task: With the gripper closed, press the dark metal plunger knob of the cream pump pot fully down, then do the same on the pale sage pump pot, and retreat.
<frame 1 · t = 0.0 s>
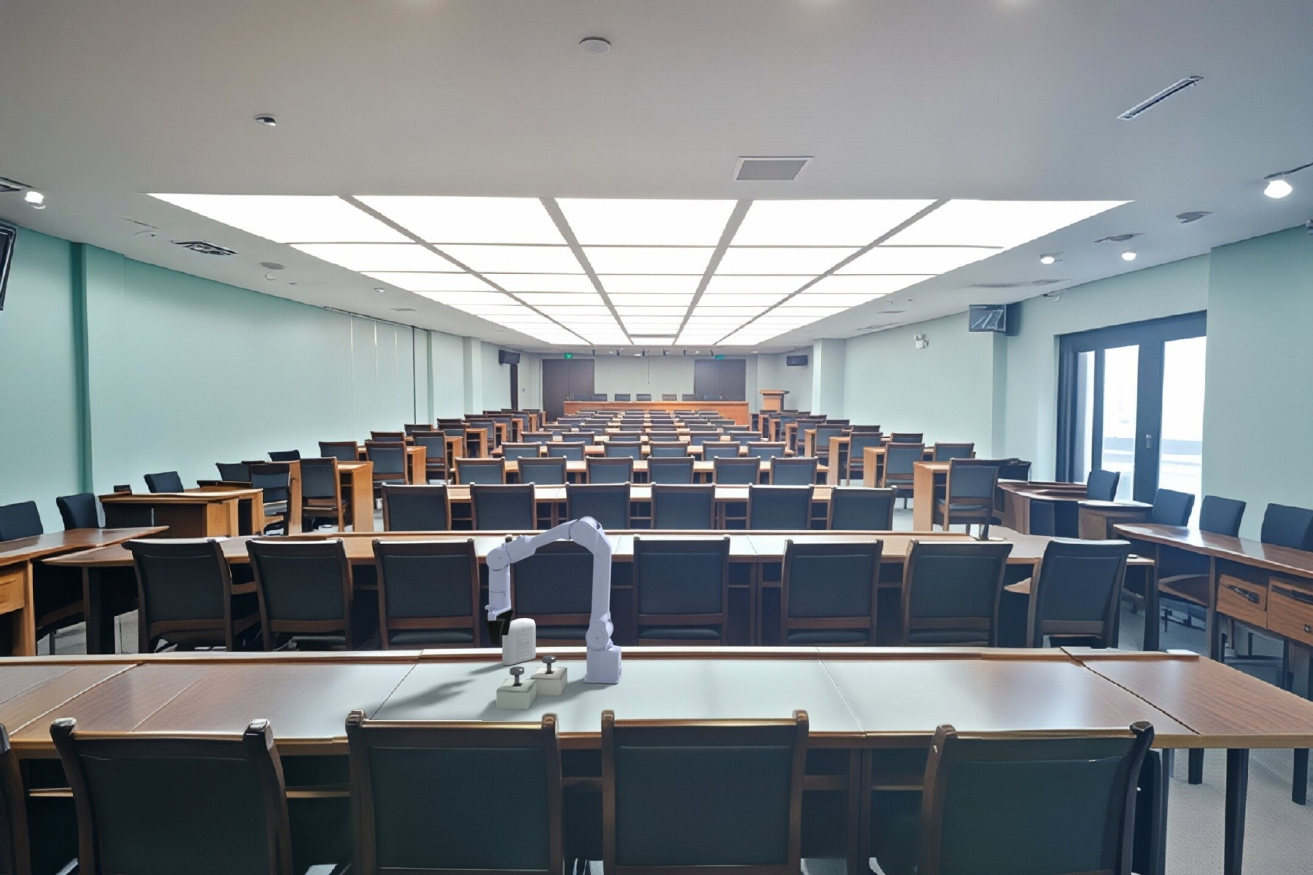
hand: (499, 639, 190), 10 cm above the table, tool pointing down, fingers open, 7 cm apart
photo printer: (519, 661, 202), on the table
plunger b: (516, 679, 172), point 6 cm above the table, slide at 0.0 cm
pot a: (549, 689, 180), on the table
pot b: (517, 702, 172), on the table
plunger a: (549, 667, 180), point 6 cm above the table, slide at 0.0 cm
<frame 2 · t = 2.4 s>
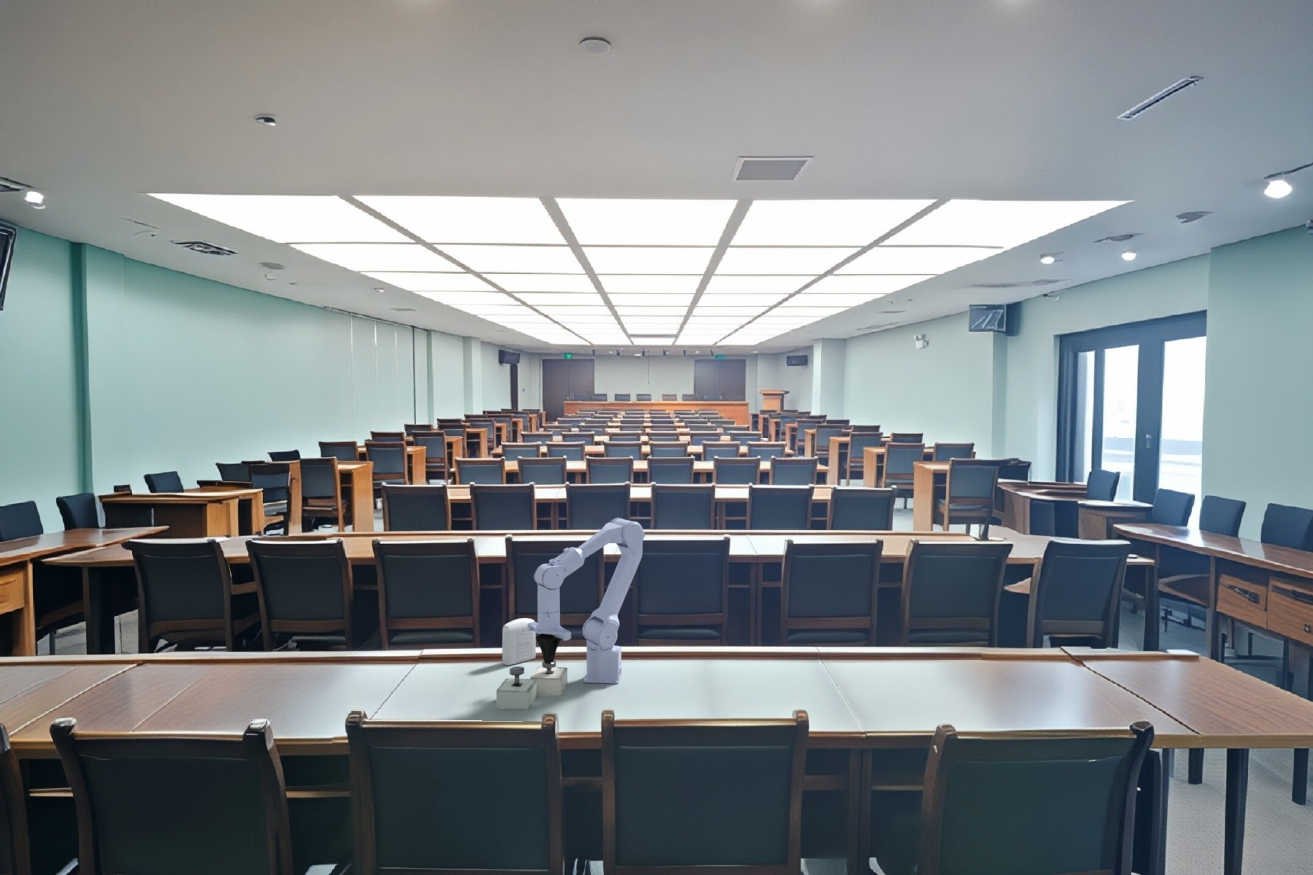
hand: (548, 662, 180), 7 cm above the table, tool pointing down, fingers closed
plunger a: (549, 671, 180), point 5 cm above the table, slide at 1.3 cm
everything else where it was.
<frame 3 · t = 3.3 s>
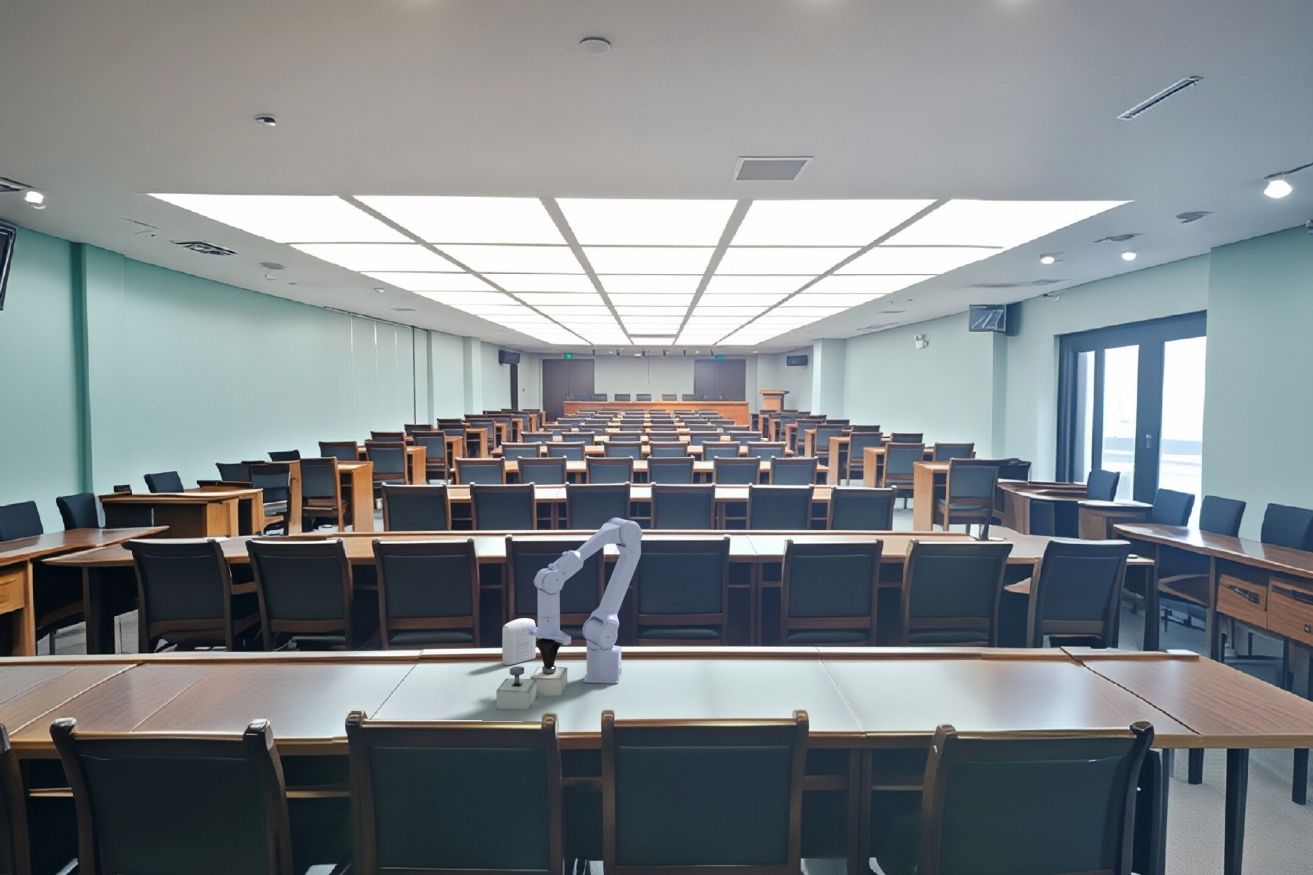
hand: (549, 666, 180), 6 cm above the table, tool pointing down, fingers closed
plunger a: (549, 676, 180), point 3 cm above the table, slide at 2.6 cm
everything else where it was.
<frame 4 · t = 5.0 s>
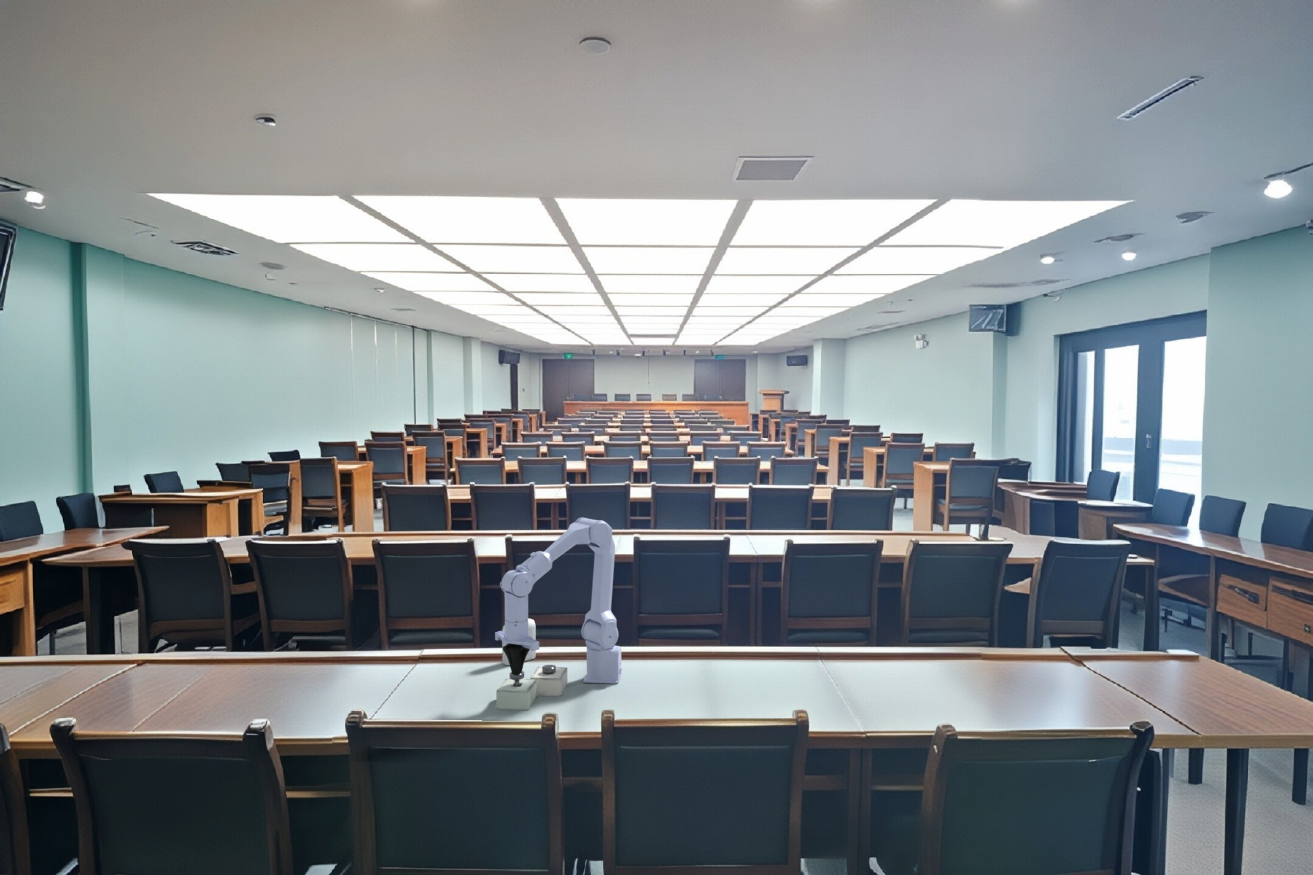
hand: (516, 673, 172), 7 cm above the table, tool pointing down, fingers closed, pressing on plunger b
plunger b: (517, 683, 172), point 5 cm above the table, slide at 1.1 cm, touching gripper
everything else where it was.
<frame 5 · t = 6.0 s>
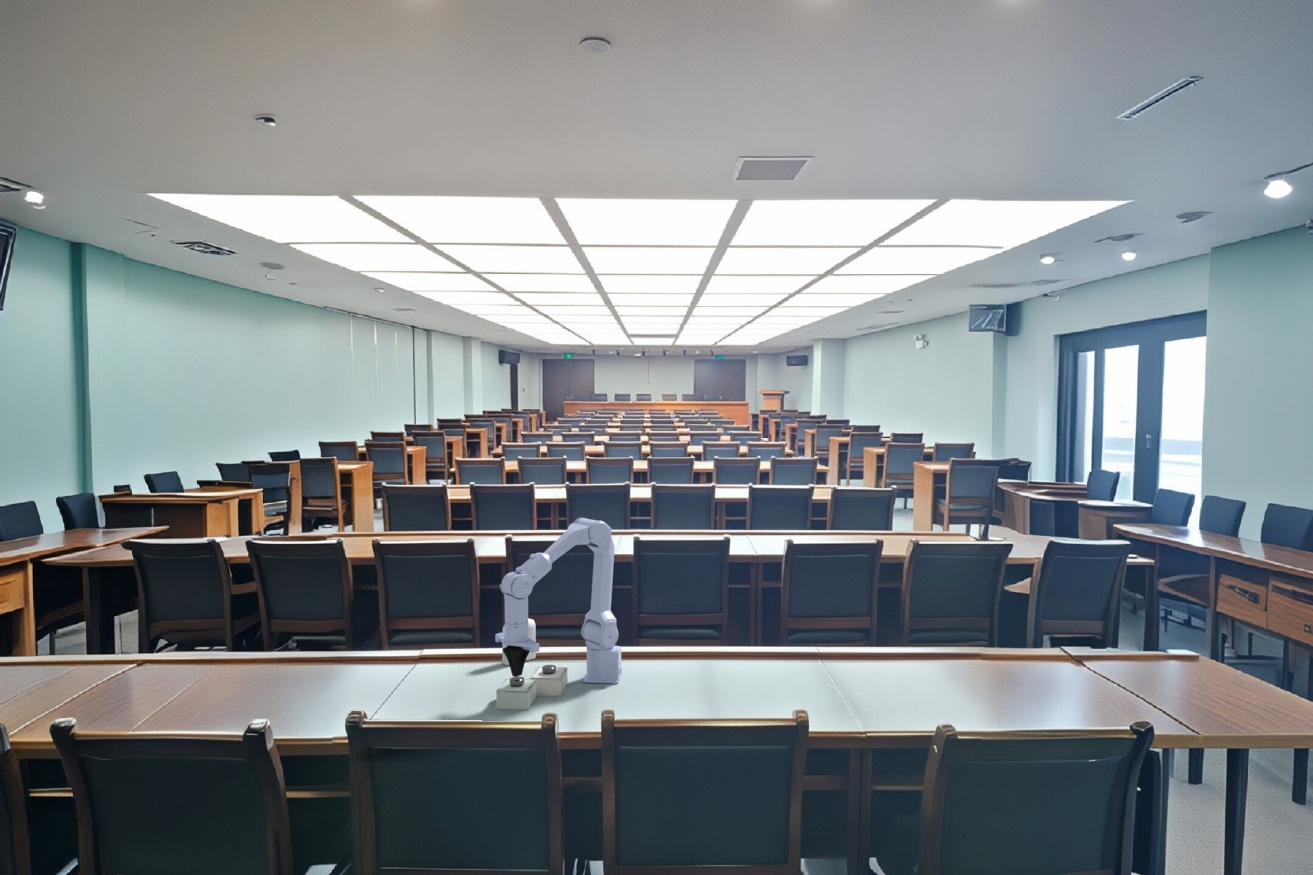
hand: (517, 675, 172), 7 cm above the table, tool pointing down, fingers closed
plunger b: (517, 689, 172), point 3 cm above the table, slide at 2.6 cm
everything else where it was.
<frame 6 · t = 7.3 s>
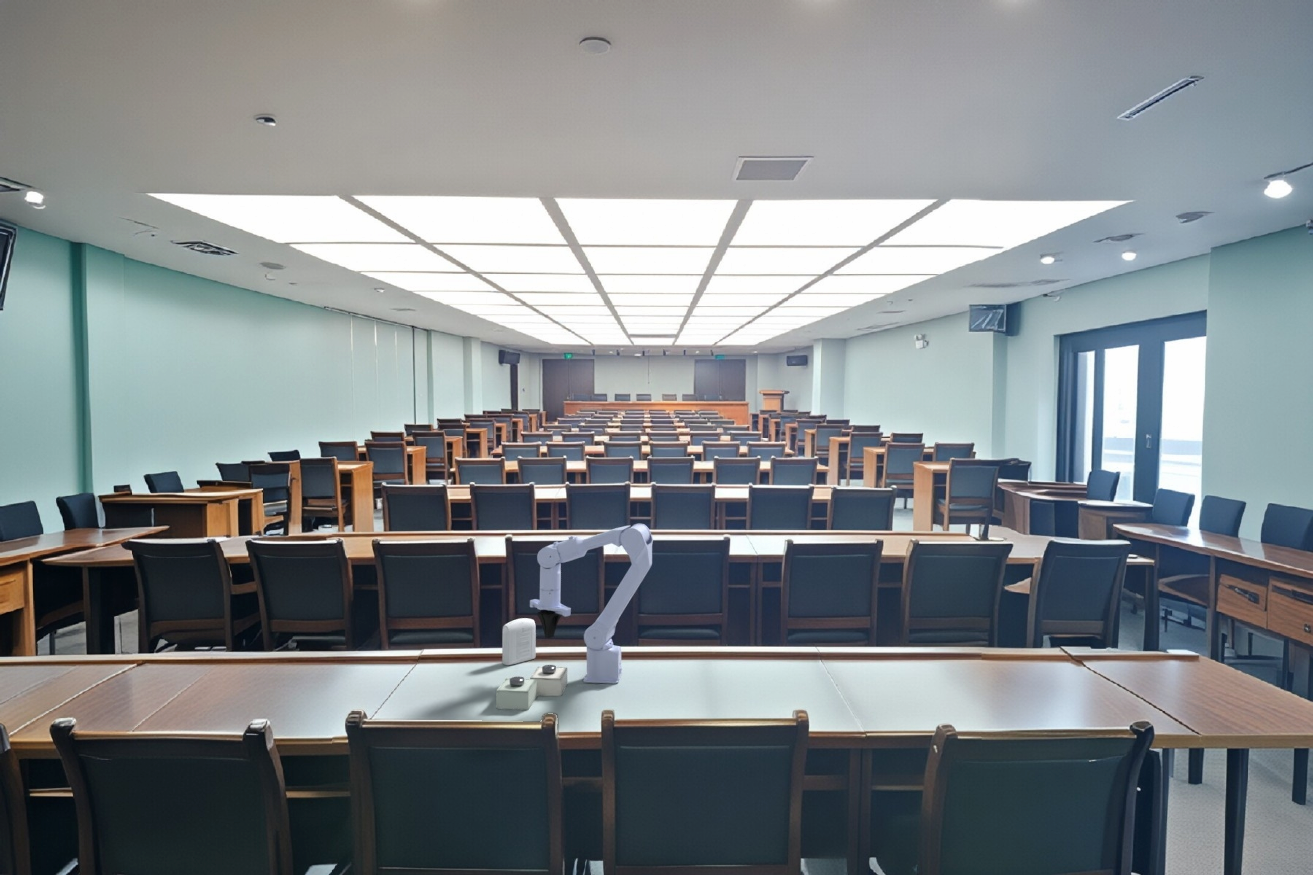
hand: (549, 636, 191), 10 cm above the table, tool pointing down, fingers closed
nothing on the table moved.
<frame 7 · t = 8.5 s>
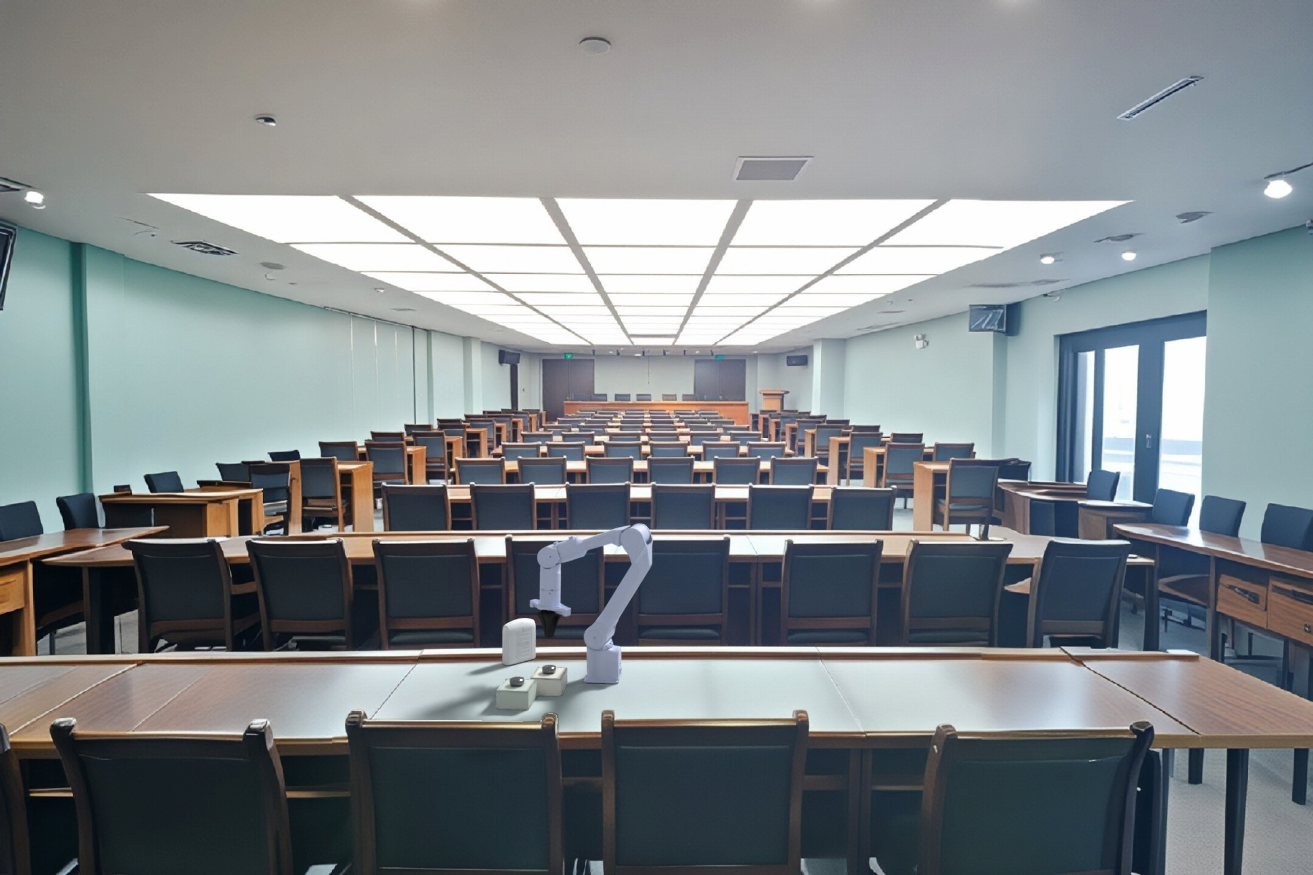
hand: (549, 636, 191), 10 cm above the table, tool pointing down, fingers closed
nothing on the table moved.
at the end: plunger a slide at 2.6 cm; plunger b slide at 2.6 cm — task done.
